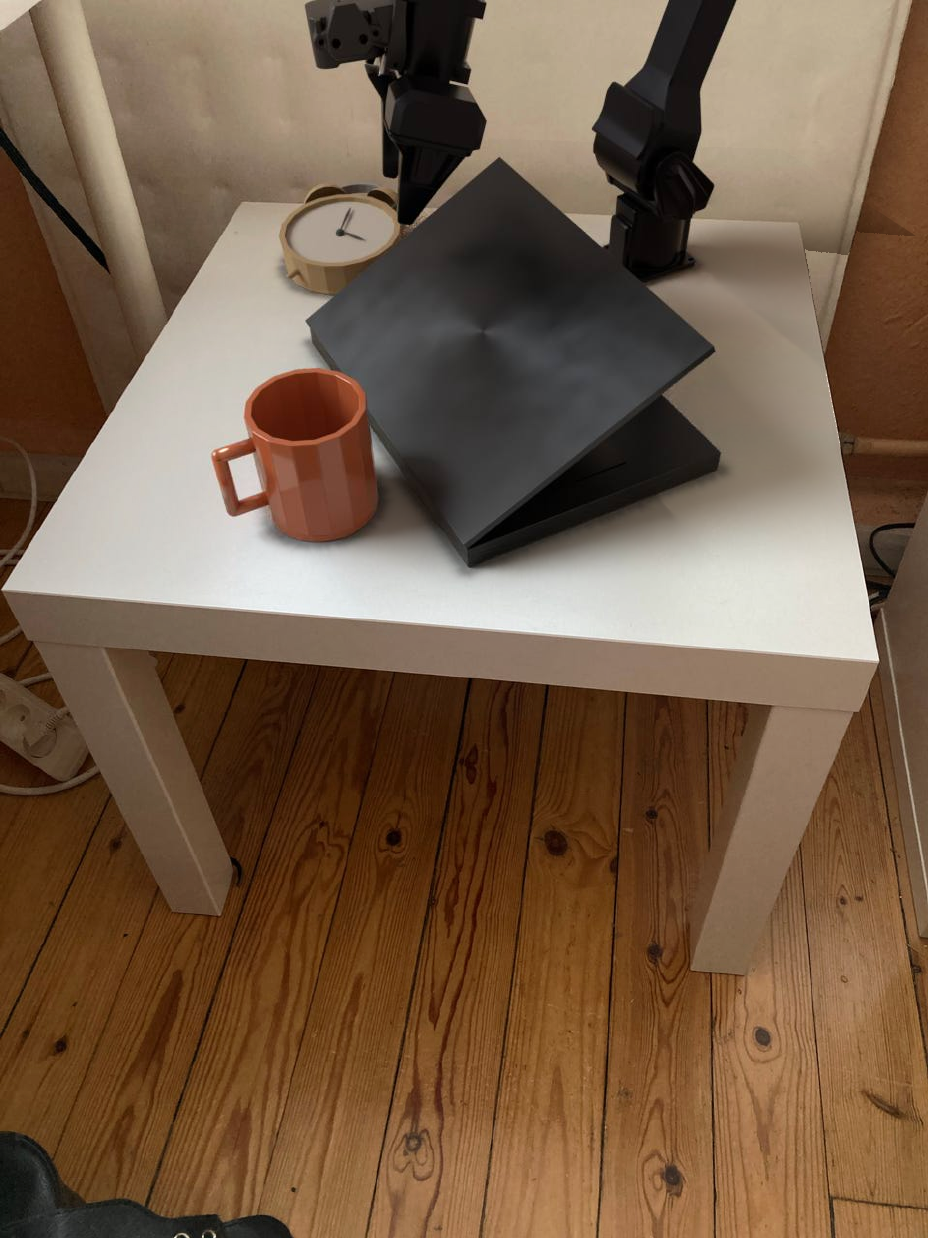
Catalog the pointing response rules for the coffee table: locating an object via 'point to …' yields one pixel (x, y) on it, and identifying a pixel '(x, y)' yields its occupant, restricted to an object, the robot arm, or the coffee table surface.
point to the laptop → (587, 477)
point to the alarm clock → (339, 234)
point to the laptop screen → (501, 347)
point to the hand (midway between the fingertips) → (396, 199)
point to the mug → (306, 455)
